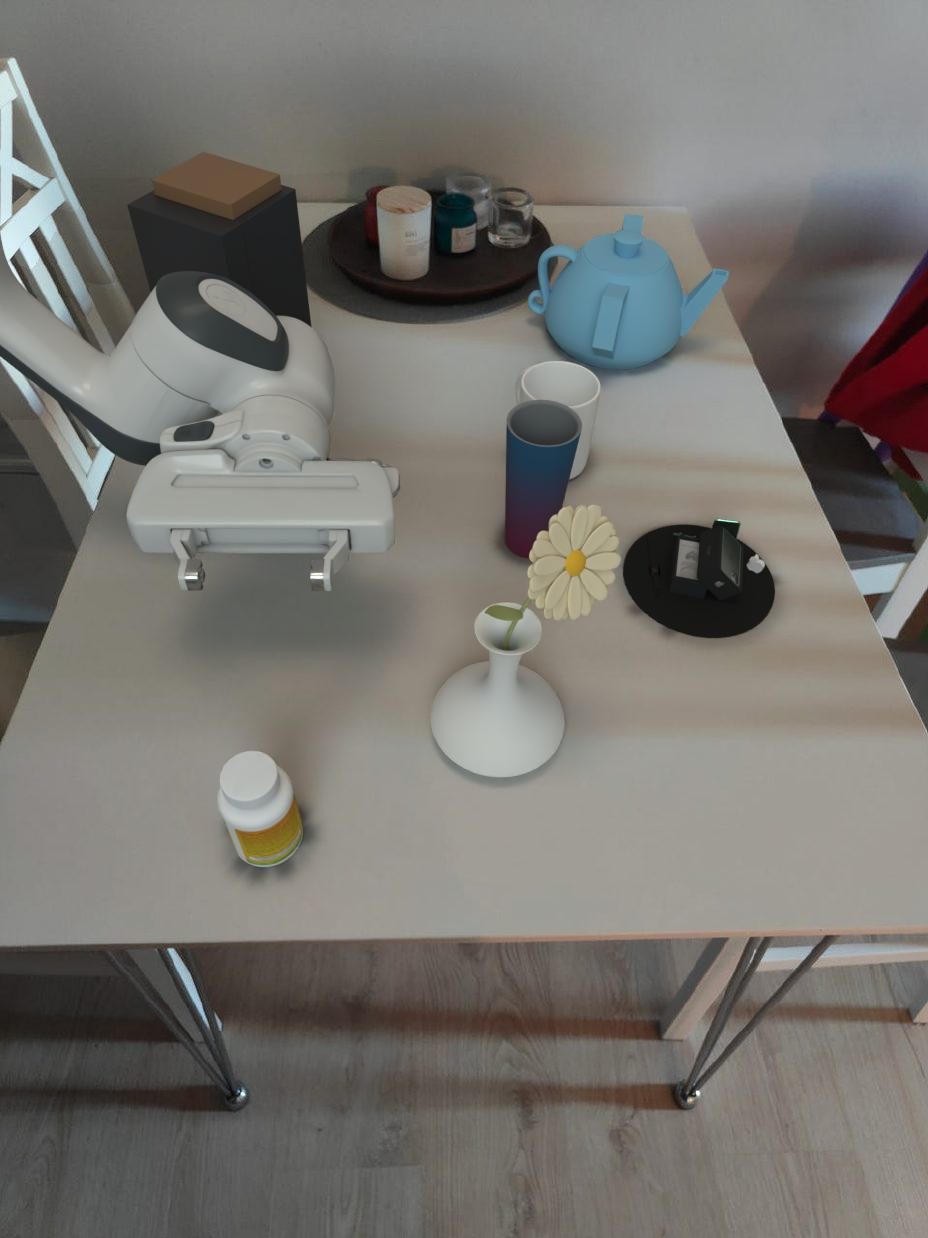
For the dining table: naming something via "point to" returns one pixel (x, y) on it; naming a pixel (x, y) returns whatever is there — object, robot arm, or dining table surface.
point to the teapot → (619, 299)
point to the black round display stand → (699, 579)
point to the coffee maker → (225, 230)
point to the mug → (564, 397)
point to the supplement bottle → (259, 809)
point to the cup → (537, 468)
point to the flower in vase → (501, 688)
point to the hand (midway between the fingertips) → (255, 585)
